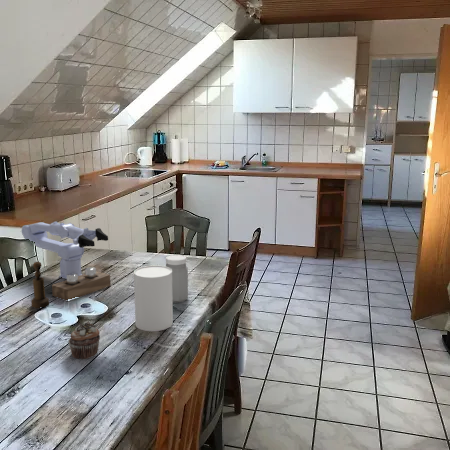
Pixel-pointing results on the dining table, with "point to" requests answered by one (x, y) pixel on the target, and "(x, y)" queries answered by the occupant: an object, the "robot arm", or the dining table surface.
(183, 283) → the jar
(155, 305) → the canister
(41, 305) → the dark brown tall piece
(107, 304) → the dining table surface
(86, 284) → the walnut frame
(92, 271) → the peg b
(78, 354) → the cupcake
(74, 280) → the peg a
